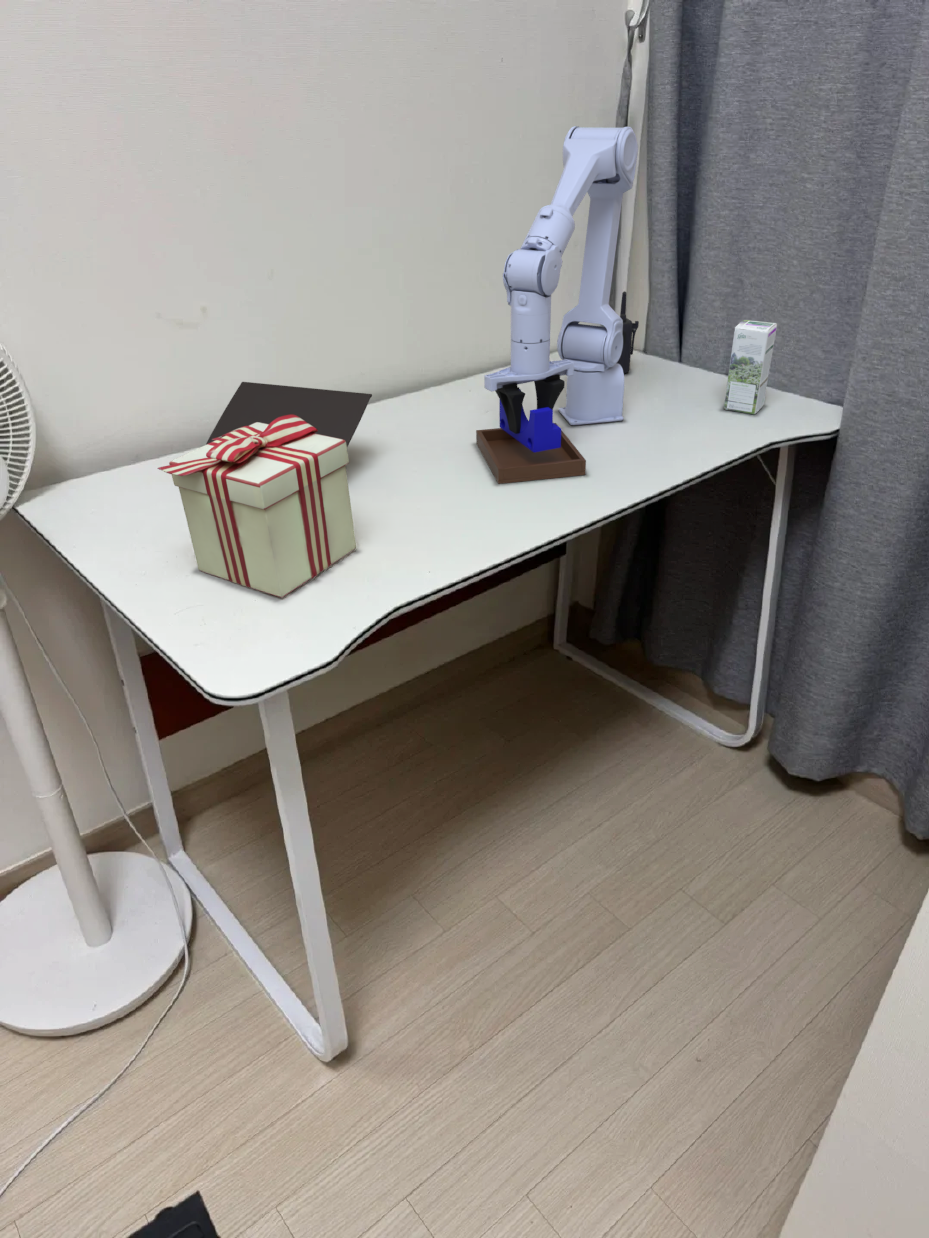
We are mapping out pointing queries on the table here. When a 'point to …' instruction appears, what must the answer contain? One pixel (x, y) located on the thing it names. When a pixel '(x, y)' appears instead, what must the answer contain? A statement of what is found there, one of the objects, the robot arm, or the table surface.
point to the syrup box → (749, 366)
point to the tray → (527, 458)
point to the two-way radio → (626, 337)
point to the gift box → (267, 504)
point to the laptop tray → (294, 409)
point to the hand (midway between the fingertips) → (528, 428)
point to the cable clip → (534, 429)
